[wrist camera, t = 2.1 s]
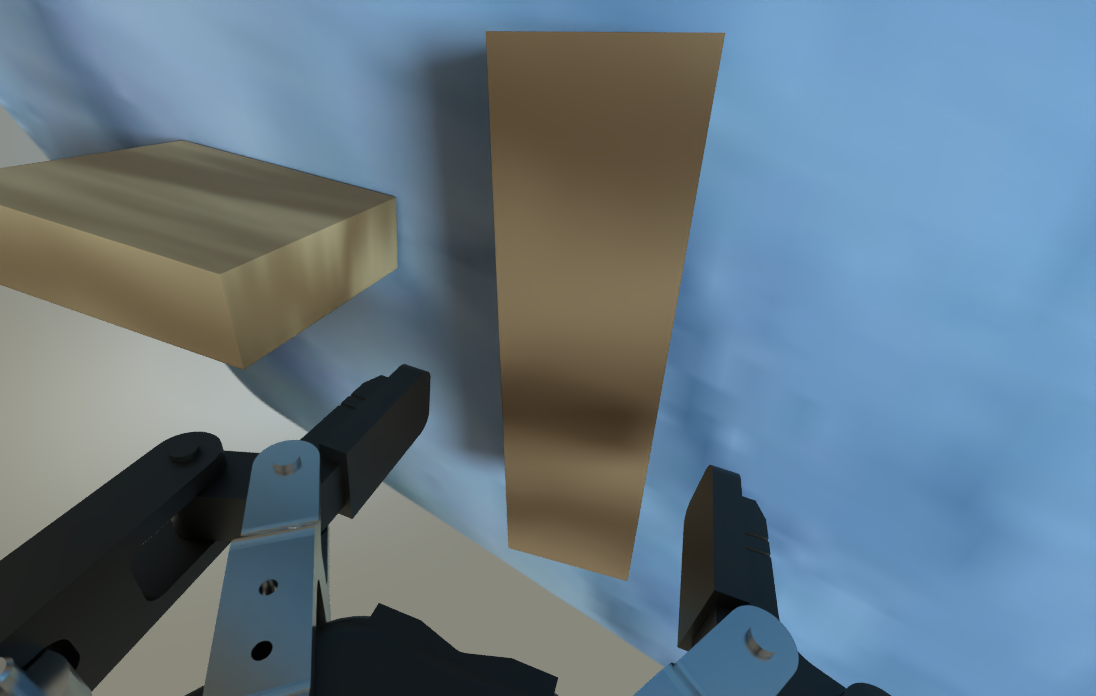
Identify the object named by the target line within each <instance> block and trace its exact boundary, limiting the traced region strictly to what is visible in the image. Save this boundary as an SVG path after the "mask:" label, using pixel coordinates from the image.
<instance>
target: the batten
mask: <svg viewBox="0 0 1096 696" xmlns="http://www.w3.org/2000/svg"><path fill="white" fill-rule="evenodd" d="M724 36H725V33H666V32H512V31H486V47H487V70H488V93H489V115H490V138H491V161H492V183H493V206H494V229H495V252H496V274H497V297H498V320H499V342H500V365H501V388H502V411H503V433H504V456H505V479H506V501H507V524H508V547H509V548H511V549H515V550H518V551H522V552H525V553H529V554H532V555H536V556H540V557H543V558H547V559H550V560H554V561H557V562H561V563H565V564H568V565H572V566H575V567H579V568H582V569H586V570H589V571H593V572H597V573H600V574H604V575H607V576H611V577H614V578H618V579H622V580H625V581H628V575H629V570H630V564H631V558H632V553H633V547H634V542H635V536H636V530H637V525H638V519H639V513H640V508H641V502H642V497H643V491H644V485H645V480H646V474H647V469H648V463H649V457H650V452H651V446H652V440H653V435H654V429H655V424H656V418H657V412H658V407H659V401H660V396H661V390H662V384H663V379H664V373H665V368H666V362H667V356H668V351H669V345H670V339H671V334H672V328H673V323H674V317H675V311H676V306H677V300H678V295H679V289H680V283H681V278H682V272H683V267H684V261H685V255H686V250H687V244H688V238H689V233H690V227H691V222H692V216H693V210H694V205H695V199H696V194H697V188H698V182H699V177H700V171H701V165H702V160H703V154H704V149H705V143H706V137H707V132H708V126H709V121H710V115H711V109H712V104H713V98H714V93H715V87H716V81H717V76H718V70H719V64H720V59H721V53H722V48H723V42H724Z"/></svg>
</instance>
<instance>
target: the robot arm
mask: <svg viewBox="0 0 1096 696" xmlns="http://www.w3.org/2000/svg"><path fill="white" fill-rule="evenodd" d="M429 401H430V373H429V372H427V371H424V370H421V369H418V368H415V367H412V366H409V365H406V364H403V365H401V366H400V367H399V368H398V369H397V370H395V371H394V372H393V373H392V374H391V375H390V376H389V377H385V376H382V375H380V376H378V377H376V378H373V379H371V380H369V381H367V382H364V383H363V384H362V385H361V386H360V387H359V388H357V389H356V390H355V391H354V392H353V393H352V394H351V396H349V397H347V398H346V399H345V400H344V401H343V402H342V403H341V405H340V406H339V405H338V406H337V407H336V408H335V409H334V410H333V411H332V412H331V413H330V414H328V415H327V416H326V417H325V418H324V419H323V420H322V421H321V422H320V423H318V424H317V425H316V426H315V427H314V428H313V429H312V430H311V431H310V432H308V433H307V434H306V435H305V436H304V437H303V438H302V439H300V440H288V441H283V442H279V443H276V444H274V445H271V446H269V447H268V448H266V449H265V450H263V451H262V452H261V453H250V452H235V451H224V450H223V447H222V443H221V441H220V439H219V438H218V437H217V436H215V435H213V434H211V433H207V432H189V433H184V434H180V435H177V436H174V437H171V438H169V439H167V440H165V441H163V442H162V443H160V444H159V445H158V446H156V447H155V448H153V449H152V450H151V451H149V452H148V453H146V454H145V455H144V456H142V457H141V458H140V459H138V460H137V461H136V462H134V463H133V464H131V465H130V466H129V467H127V468H126V469H125V470H123V471H122V472H120V473H119V474H118V475H116V476H115V477H114V478H112V479H111V480H110V481H108V482H107V483H105V484H104V485H103V486H101V487H100V488H99V489H97V490H96V491H95V492H93V493H92V494H90V495H89V496H88V497H86V498H85V499H84V500H82V501H81V502H80V503H78V504H77V505H76V506H74V507H73V508H71V509H70V510H69V511H68V512H66V513H65V514H63V515H62V516H61V517H59V518H58V519H56V520H55V521H54V522H52V523H51V524H50V525H48V526H47V527H45V528H44V529H43V530H41V531H40V532H39V533H37V534H36V535H35V536H33V537H32V538H30V539H29V540H28V541H26V542H25V543H24V544H22V545H21V546H20V547H18V548H17V549H15V550H14V551H13V552H12V553H10V554H9V555H7V556H6V557H5V558H3V559H2V560H0V696H92V694H91V692H92V691H93V689H94V688H95V687H96V686H97V685H98V684H99V683H100V682H101V681H102V680H103V679H104V678H105V676H106V675H107V674H108V673H109V672H110V671H111V670H112V669H113V668H114V667H115V666H116V665H117V664H118V663H119V662H120V661H121V659H122V658H123V657H124V656H125V655H126V654H127V653H128V652H129V651H130V650H131V649H132V647H134V646H135V644H136V643H137V642H138V641H139V640H140V639H141V638H142V637H143V636H144V635H145V634H146V633H147V632H148V630H149V629H150V628H151V627H152V626H153V625H154V624H155V623H156V622H157V621H158V620H159V618H161V617H162V615H163V614H164V613H165V612H166V611H167V610H168V609H169V608H170V607H171V606H172V605H173V604H174V602H175V601H176V600H177V599H178V598H179V597H180V596H181V595H182V594H183V593H184V592H185V591H186V590H187V589H188V587H189V586H190V585H191V584H192V583H193V582H194V581H195V580H196V579H197V578H198V577H199V576H200V575H201V573H202V572H203V571H204V570H205V569H206V568H207V567H208V566H209V565H210V564H211V563H212V562H213V561H214V560H215V558H216V557H217V556H218V555H219V554H220V553H221V552H222V551H223V550H224V549H225V548H226V547H227V546H228V545H229V544H230V542H231V545H230V549H229V554H228V559H227V565H226V571H225V576H224V581H223V587H222V592H221V598H220V603H219V609H218V614H217V620H216V625H215V631H214V636H213V642H212V647H211V652H210V659H209V664H208V669H207V674H206V680H205V685H204V686H202V687H200V688H198V689H197V690H195V691H193V692H191V693H189V694H187V695H185V696H558V695H557V694H555V693H554V692H555V688H556V684H557V680H558V677H556V676H553V675H551V674H548V673H546V672H544V671H541V670H539V669H536V668H534V667H532V666H529V665H527V664H524V663H522V662H519V661H517V660H515V659H512V658H504V657H495V656H486V655H477V654H468V653H462V652H459V651H458V650H456V649H455V648H454V647H452V646H451V645H450V644H449V643H448V642H446V641H445V640H444V639H443V638H442V637H440V636H439V635H438V634H437V633H435V632H434V631H433V630H432V629H431V628H429V627H428V626H427V625H426V624H424V623H423V622H422V621H421V620H418V619H416V618H414V617H411V616H409V615H407V614H404V613H402V612H399V611H397V610H395V609H392V608H390V607H387V606H385V605H382V604H380V603H379V604H378V605H377V607H376V608H375V610H374V612H373V613H372V615H371V616H352V617H346V618H340V619H336V620H333V621H331V611H330V595H329V523H330V522H331V521H332V520H333V518H335V516H336V515H337V514H341V515H344V516H346V517H349V518H351V519H353V518H354V516H355V515H356V514H357V513H358V511H359V510H360V508H361V507H362V506H363V505H364V504H365V502H366V501H367V500H368V499H369V497H370V496H371V495H372V494H373V492H374V491H375V490H376V489H377V487H378V486H379V485H380V484H381V482H382V481H383V480H384V479H385V477H386V476H387V475H388V474H389V472H390V471H391V470H392V469H393V467H394V466H395V465H396V464H397V462H398V461H399V460H400V459H401V457H402V456H403V455H404V454H405V452H406V451H407V450H408V449H409V447H410V446H411V445H412V444H413V442H414V441H415V440H416V439H417V437H418V436H419V435H420V434H421V432H422V431H423V429H424V427H425V425H426V422H427V419H428V416H429ZM170 519H171V520H170ZM161 527H162V528H161ZM160 528H161V529H160ZM151 536H152V537H151ZM678 648H681V649H684V650H686V651H688V652H687V653H686V654H685V655H684V656H683V657H682V658H681V659H679V660H678V661H677V662H676V663H674V664H673V663H670V664H668V665H667V666H666V667H664V668H663V669H662V670H661V671H660V672H659V673H658V674H656V675H655V676H654V677H653V678H652V679H651V680H650V681H649V682H648V683H646V684H645V686H643V687H642V688H641V689H640V690H639V691H638V692H637V693H635V694H634V695H633V696H891V695H889V694H888V693H886V692H885V691H883V690H882V689H880V688H878V687H876V686H873V685H870V684H867V683H855V684H852V685H851V686H849V687H848V688H847V689H846V688H845V687H843V686H842V685H841V684H839V683H838V682H836V681H835V680H833V679H832V678H831V677H829V676H828V675H826V674H825V673H823V672H822V671H821V670H819V669H818V668H816V667H815V666H813V665H812V664H811V663H810V662H808V661H807V660H806V659H805V658H804V657H803V656H802V655H801V654H800V653H799V652H798V651H797V647H796V644H795V642H794V640H793V638H792V636H791V634H790V633H789V631H788V630H787V629H786V627H785V626H784V625H783V624H782V623H781V622H780V620H779V615H778V608H777V600H776V592H775V585H774V577H773V570H772V562H771V558H770V547H769V542H768V531H767V524H766V519H765V517H764V515H763V513H762V512H761V510H760V508H759V506H758V504H757V503H756V501H755V500H752V499H749V498H746V497H743V496H742V488H741V478H740V475H739V474H737V473H734V472H731V471H728V470H725V469H722V468H719V467H716V466H713V465H709V466H708V467H707V469H706V471H705V473H704V475H703V477H702V479H701V481H700V483H699V485H698V487H697V489H696V491H695V493H694V495H693V497H692V499H691V501H690V503H689V505H688V508H687V511H686V515H685V521H684V532H683V551H682V570H681V589H680V608H679V628H678Z"/></svg>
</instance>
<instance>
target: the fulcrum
mask: <svg viewBox="0 0 1096 696" xmlns="http://www.w3.org/2000/svg"><path fill="white" fill-rule="evenodd" d="M397 268H398V265H397V215H396V197H393V196H389V195H385V194H382V193H378V192H374V191H370V190H367V189H363V188H359V187H355V186H352V185H348V184H344V183H341V182H337V181H333V180H329V179H326V178H322V177H318V176H314V175H311V174H307V173H303V172H299V171H296V170H292V169H288V168H284V167H281V166H277V165H273V164H269V163H266V162H262V161H258V160H254V159H251V158H247V157H243V156H240V155H236V154H232V153H228V152H225V151H221V150H217V149H213V148H210V147H206V146H202V145H198V144H195V143H191V142H187V141H183V140H182V141H175V142H169V143H162V144H156V145H149V146H143V147H136V148H130V149H123V150H117V151H110V152H104V153H97V154H91V155H84V156H77V157H71V158H64V159H58V160H51V161H45V162H38V163H32V164H25V165H19V166H12V167H7V168H0V285H3V286H6V287H9V288H11V289H14V290H17V291H20V292H23V293H26V294H29V295H31V296H34V297H37V298H40V299H43V300H46V301H49V302H51V303H55V304H57V305H61V306H63V307H66V308H69V309H71V310H75V311H77V312H80V313H83V314H86V315H89V316H92V317H95V318H97V319H100V320H103V321H106V322H109V323H112V324H114V325H117V326H120V327H123V328H126V329H129V330H132V331H134V332H137V333H140V334H143V335H146V336H149V337H152V338H155V339H157V340H160V341H163V342H166V343H169V344H172V345H175V346H177V347H180V348H183V349H186V350H189V351H192V352H195V353H197V354H200V355H203V356H206V357H209V358H212V359H215V360H217V361H220V362H223V363H226V364H229V365H232V366H235V367H238V368H240V369H243V370H244V369H246V368H247V367H249V366H250V365H252V364H253V363H255V362H256V361H258V360H259V359H261V358H262V357H264V356H265V355H267V354H268V353H270V352H271V351H273V350H274V349H276V348H277V347H279V346H280V345H282V344H283V343H285V342H286V341H288V340H289V339H291V338H292V337H294V336H295V335H297V334H298V333H300V332H301V331H303V330H304V329H306V328H308V327H309V326H311V325H312V324H314V323H315V322H317V321H318V320H320V319H321V318H323V317H324V316H326V315H327V314H329V313H330V312H332V311H333V310H335V309H336V308H338V307H339V306H341V305H342V304H344V303H345V302H347V301H348V300H350V299H351V298H353V297H354V296H356V295H357V294H359V293H360V292H362V291H363V290H365V289H366V288H368V287H369V286H371V285H372V284H374V283H375V282H377V281H378V280H380V279H381V278H383V277H385V276H386V275H388V274H389V273H391V272H392V271H394V270H395V269H397Z"/></svg>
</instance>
